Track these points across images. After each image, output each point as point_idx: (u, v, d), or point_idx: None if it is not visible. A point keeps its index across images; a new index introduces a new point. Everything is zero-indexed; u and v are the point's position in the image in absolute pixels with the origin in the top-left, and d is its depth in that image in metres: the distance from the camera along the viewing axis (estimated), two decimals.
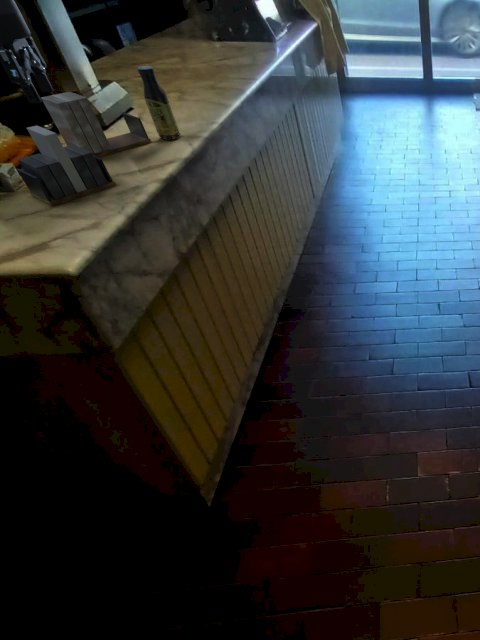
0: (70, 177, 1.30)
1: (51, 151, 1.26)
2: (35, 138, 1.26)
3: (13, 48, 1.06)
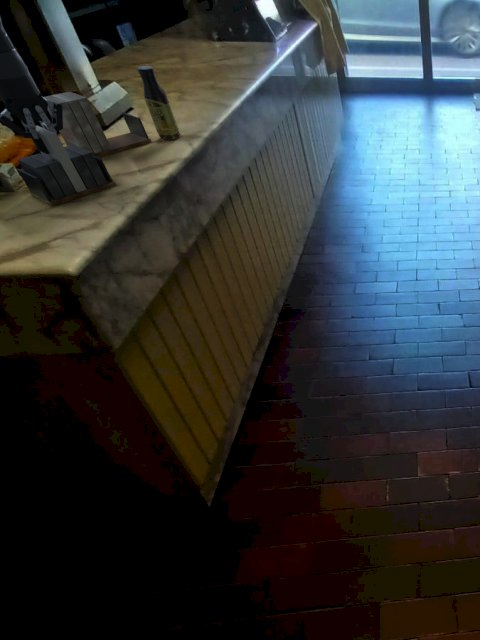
0: (70, 177, 1.30)
1: (51, 151, 1.26)
2: None
3: (9, 109, 1.18)
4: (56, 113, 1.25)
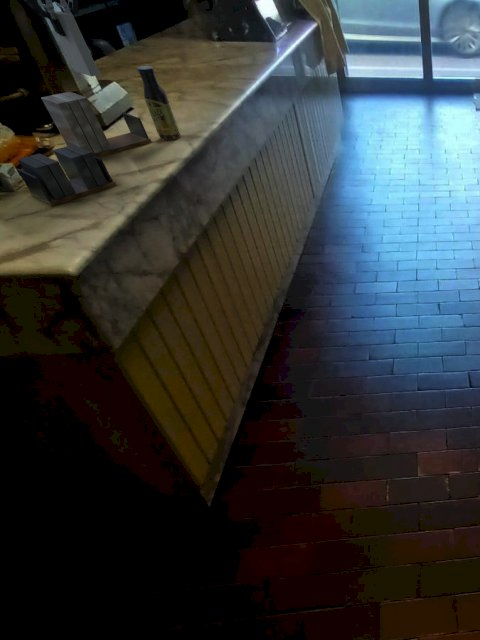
0: (85, 60, 1.39)
1: (67, 32, 1.35)
2: None
3: None
4: None
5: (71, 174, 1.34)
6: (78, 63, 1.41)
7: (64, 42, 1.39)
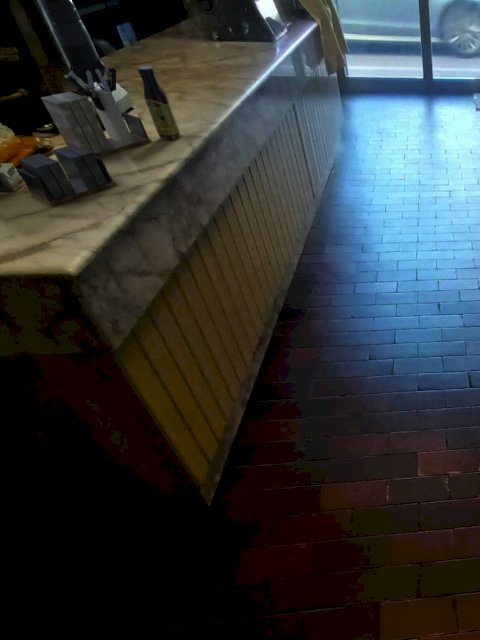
0: (121, 131, 1.54)
1: (106, 107, 1.50)
2: None
3: (75, 70, 1.42)
4: (111, 76, 1.50)
5: (71, 174, 1.34)
6: (115, 132, 1.56)
7: (102, 115, 1.54)
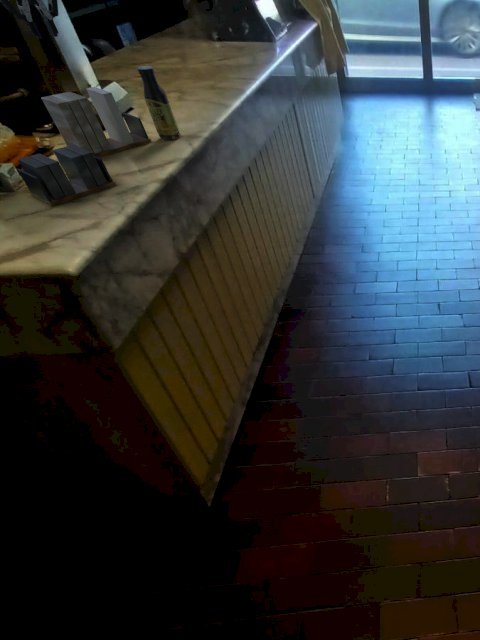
0: (121, 131, 1.54)
1: (106, 107, 1.50)
2: (93, 97, 1.51)
3: None
4: None
5: (71, 174, 1.34)
6: (115, 132, 1.56)
7: (102, 115, 1.54)
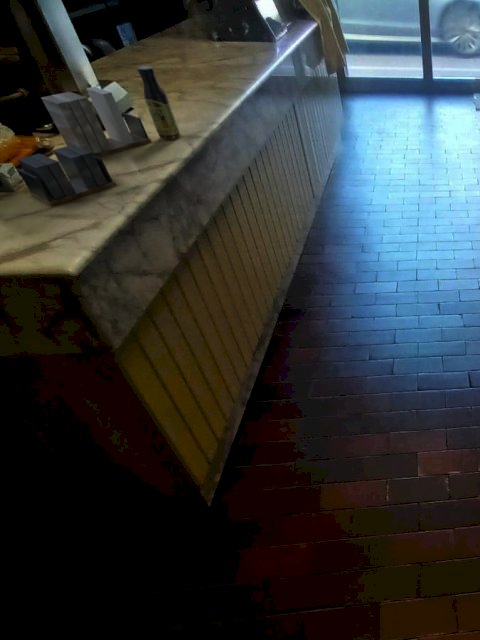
0: (121, 131, 1.54)
1: (106, 107, 1.50)
2: (93, 97, 1.51)
3: None
4: None
5: (71, 174, 1.34)
6: (115, 132, 1.56)
7: (102, 115, 1.54)
